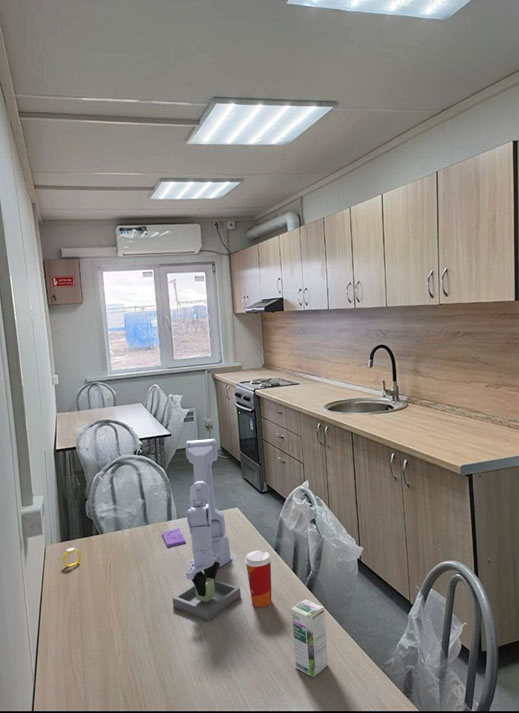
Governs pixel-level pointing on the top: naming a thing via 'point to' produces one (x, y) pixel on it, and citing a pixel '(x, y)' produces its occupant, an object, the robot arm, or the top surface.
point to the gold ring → (71, 552)
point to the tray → (213, 607)
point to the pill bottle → (259, 577)
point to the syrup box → (309, 637)
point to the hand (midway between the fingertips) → (206, 591)
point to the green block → (207, 591)
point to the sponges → (173, 537)
